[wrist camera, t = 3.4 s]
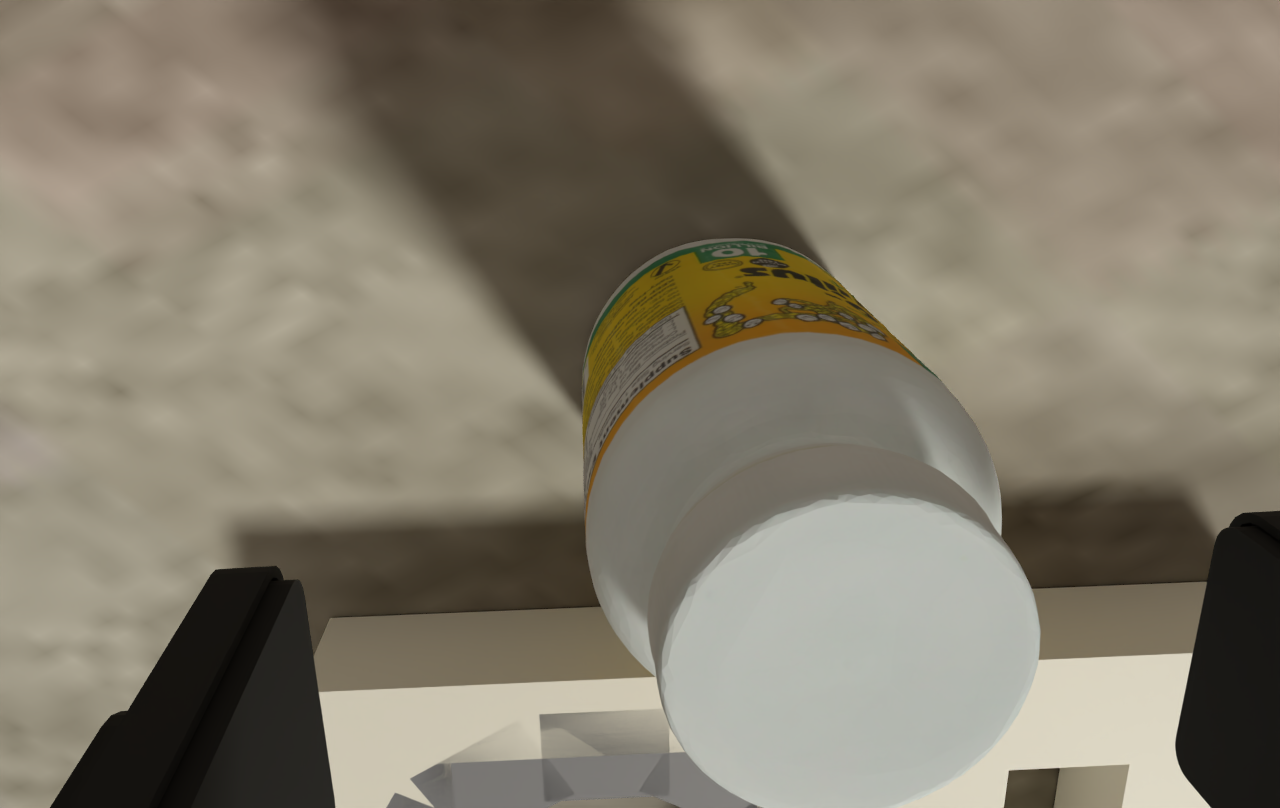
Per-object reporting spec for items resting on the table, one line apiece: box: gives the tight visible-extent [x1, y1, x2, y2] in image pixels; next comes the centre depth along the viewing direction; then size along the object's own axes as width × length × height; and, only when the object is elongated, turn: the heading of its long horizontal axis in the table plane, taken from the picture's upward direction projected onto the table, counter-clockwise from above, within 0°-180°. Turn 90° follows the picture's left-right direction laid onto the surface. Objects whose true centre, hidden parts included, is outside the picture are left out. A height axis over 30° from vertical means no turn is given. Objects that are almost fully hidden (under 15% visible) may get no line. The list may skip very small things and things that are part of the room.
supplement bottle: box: [582, 238, 1040, 808], centre depth 15 cm, size 5×5×10 cm
